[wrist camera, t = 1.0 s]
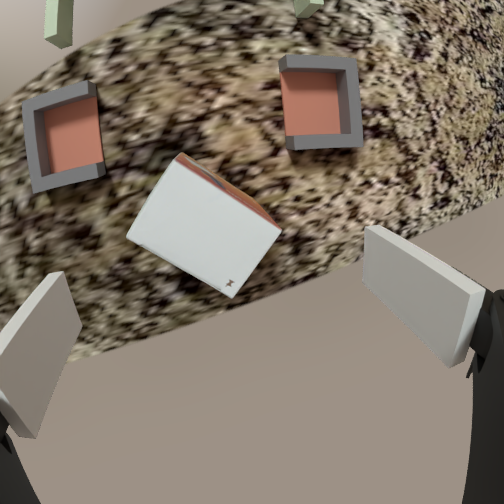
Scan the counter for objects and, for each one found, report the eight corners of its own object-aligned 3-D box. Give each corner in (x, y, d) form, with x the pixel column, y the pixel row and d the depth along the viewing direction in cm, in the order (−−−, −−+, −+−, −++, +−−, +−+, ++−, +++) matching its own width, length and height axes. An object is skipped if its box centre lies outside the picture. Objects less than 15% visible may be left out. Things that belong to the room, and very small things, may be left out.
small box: (254, 198, 29) (287, 231, 19) (219, 247, 30) (234, 302, 20) (180, 149, 26) (174, 156, 17) (146, 202, 27) (123, 238, 18)
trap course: (44, 188, 25) (25, 196, 21) (35, 3, 17) (19, -10, 14) (350, 145, 29) (371, 147, 25) (328, -31, 22) (344, -47, 18)
